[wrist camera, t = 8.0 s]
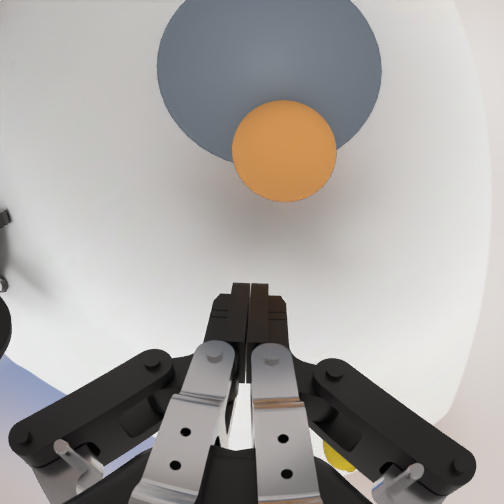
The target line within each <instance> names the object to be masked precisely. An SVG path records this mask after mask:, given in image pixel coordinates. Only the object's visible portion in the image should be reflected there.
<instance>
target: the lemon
mask: <svg viewBox="0 0 504 504" xmlns="http://www.w3.org/2000/svg"><path fill="white" fill-rule="evenodd" d="M323 448H324V453H325V456H326V458H327V460H328V462H329V463H330V464H331V465H332V466H333V467H335V468H337V469H340V470H346V471H348V472H353V471H354V470H355V469H356V468H355V467H354V466H353V465H351V464H350V463H349V462H348V461H347V460H346V459H344V458H343V457H342V456H341V455H340V454H339V453H337V452H336V451H335V450H334V449H333V448H332V447H331V446H330V445H328V444H327V443H326V442H325V441H324V440H323Z"/></svg>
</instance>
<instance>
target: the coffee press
mask: <svg viewBox="0 0 504 504" xmlns="http://www.w3.org/2000/svg"><path fill="white" fill-rule="evenodd" d="M8 223H10V220H9V217H8V215H7V212H6V210H5V211H3V212H2V213H0V228H2V227H4V226H5V225H7V224H8ZM0 282H1V284H2V291H0V293H3V292H6V291H7V289H8V284H7V281H6V280H5V279H2V278H0ZM11 333H12V324H11V316H10V312H9V309H8V307H7V305H6V303H5V302H4V301H3V299H2V298H1V297H0V359H1V357H2V355H3V354H4V352H5V351H6V349H7V347H8V345H9V342H10V339H11Z"/></svg>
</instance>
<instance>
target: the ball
mask: <svg viewBox="0 0 504 504" xmlns="http://www.w3.org/2000/svg"><path fill="white" fill-rule="evenodd" d="M336 154H337V151H336V142H335V138H334V135H333V132H332V130H331V128H330V127H329V125H328V123H327V122H326V121H325V119H324V118H323V117H322V116H321V115H320V114H319V113H318V112H316V111H315V110H313V109H312V108H310V107H309V106H307V105H305V104H302V103H299V102H295V101H288V100H278V101H272V102H268V103H265V104H262V105H260V106H258V107H257V108H255V109H253V110H252V111H251V112H250V113H248V114H247V115H246V116H245V117H244V119H243V120H242V121H241V123H240V124H239V126H238V128H237V130H236V132H235V135H234V138H233V144H232V157H233V162H234V165H235V168H236V171H237V173H238V175H239V176H240V178H241V180H242V181H243V182H244V183H245V184H246V185H247V186H248V187H249V188H250V189H251V190H252V191H253V192H255V193H256V194H258V195H260V196H262V197H264V198H266V199H269V200H272V201H278V202H293V201H298V200H301V199H304V198H307V197H309V196H311V195H313V194H314V193H315V192H317V191H318V190H319V189H320V188H322V187H323V185H324V184H325V183H326V182H327V180H328V179H329V177H330V176H331V174H332V171H333V169H334V166H335V162H336Z"/></svg>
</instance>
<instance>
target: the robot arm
mask: <svg viewBox="0 0 504 504" xmlns="http://www.w3.org/2000/svg"><path fill="white" fill-rule="evenodd" d="M245 372H246V383H251V392H250V393H251V394H250V406H251V435H252V448H251V449H245V450H239V451H233V450H229V449H228V441H229V435H230V430H231V425H232V420H233V415H234V410H235V405H236V399H237V394H238V386H239V383H245ZM309 427H310V428H311V429H312V430H313V431H314V432H315V433H316V434H317V435H318V436H320V437H321V438H322V439H323V440H324V441H325V442H326V443H327V444H328V445H330V446H331V447H332V448H333V449H334V450H335V451H336V452H337V453H339V454H340V455H341V456H342V457H343V458H344V459H346V460H347V461H348V462H349V463H350V464H351V465H353V466H354V467H355V468H356V469H357V470H359V471H360V472H361V473H363V475H365V476H366V477H367V478H368V479H370V480H371V481H372V482H373V483H374V484H373V487H372V497H373V499H374V501H375V502H376V503H377V504H442V502H443V501H444V499H445V498H446V497H447V496H448V495H449V494H451V493H452V492H454V491H455V490H457V489H458V488H460V487H462V486H463V485H465V484H466V483H468V482H469V481H470V480H471V479H472V477H473V476H474V474H475V471H476V461H475V458H474V456H473V454H472V453H471V452H470V451H468V450H467V449H466V448H464V447H463V446H461V445H460V444H458V443H457V442H455V441H454V440H452V439H451V438H450V437H448V436H447V435H445V434H444V433H442V432H441V431H440V430H438V429H437V428H435V427H434V426H432V425H431V424H430V423H428V422H427V421H425V420H424V419H423V418H421V417H420V416H418V415H417V414H416V413H414V412H413V411H412V410H410V409H409V408H407V407H406V406H405V405H403V404H402V403H400V402H399V401H398V400H396V399H395V398H394V397H392V396H391V395H390V394H388V393H387V392H385V391H384V390H383V389H381V388H380V387H379V386H377V385H376V384H375V383H373V382H372V381H371V380H369V379H368V378H367V377H365V376H364V375H363V374H361V373H360V372H359V371H357V370H356V369H355V368H353V367H352V366H351V365H349V364H348V363H347V362H345V361H343V360H340V359H336V358H329V359H325V360H322V361H320V362H319V363H318V364H317V365H314V364H310V363H306V362H303V361H301V360H299V359H297V358H296V357H295V356H294V355H293V354H292V353H291V351H290V349H289V339H288V325H287V314H286V303H285V302H284V300H283V299H282V297H281V296H268V284H259V283H252V284H251V295H250V283H233V286H232V291H231V294H220V295H219V296H218V297H217V298H216V299H215V300H214V302H213V306H212V311H211V314H210V318H209V322H208V326H207V330H206V334H205V338H204V342H203V344H201V345H200V346H199V347H198V348H197V349H196V351H195V353H193V354H191V355H189V356H185V357H178V358H171V356H170V355H169V354H168V353H167V352H165V351H163V350H159V349H150V350H146V351H144V352H142V353H140V354H138V355H137V356H135V357H133V358H132V359H130V360H128V361H126V362H125V363H123V364H121V365H120V366H118V367H116V368H114V369H113V370H111V371H109V372H108V373H106V374H104V375H102V376H101V377H99V378H97V379H95V380H94V381H92V382H90V383H88V384H87V385H85V386H83V387H81V388H80V389H78V390H76V391H74V392H72V393H71V394H69V395H67V396H65V397H64V398H62V399H60V400H58V401H56V402H55V403H53V404H51V405H49V406H47V407H45V408H44V409H42V410H40V411H38V412H36V413H34V414H33V415H31V416H29V417H27V418H25V419H23V420H21V421H20V422H18V423H16V424H15V425H14V426H13V427H12V428H11V430H10V433H9V437H8V439H9V445H10V447H11V449H12V450H13V451H14V452H15V453H16V454H17V455H19V456H20V457H21V458H22V459H23V460H24V461H25V462H26V463H27V464H28V465H29V466H30V467H31V468H32V470H33V472H34V474H35V476H36V478H37V480H38V482H39V483H40V486H41V487H42V489H43V491H44V493H45V494H46V496H47V498H48V500H49V502H50V503H51V504H373V503H372V502H370V501H369V500H368V499H367V498H366V497H365V496H364V495H362V494H361V493H360V492H359V491H358V490H357V489H356V488H355V487H353V486H352V485H351V484H350V483H349V482H348V481H347V480H346V479H345V478H344V477H343V476H342V475H341V474H339V473H338V472H337V471H336V470H335V469H334V468H333V467H332V466H331V465H329V464H328V463H326V462H325V461H323V460H321V459H319V458H317V457H315V456H313V450H312V444H311V438H310V432H309ZM158 431H159V432H158ZM156 432H158V434H157V437H156V440H155V443H154V445H153V447H152V448H150V449H147V450H145V451H143V452H142V453H140V454H138V455H137V456H135V457H134V458H133V459H131V460H130V461H128V462H127V463H125V464H124V465H122V466H121V467H120V468H118V469H117V470H115V471H114V472H112V473H111V474H109V475H108V476H106V477H105V478H104V479H102V477H103V474H104V468H103V467H104V466H105V465H107V464H109V463H110V462H112V461H113V460H115V459H117V458H118V457H120V456H121V455H123V454H125V453H126V452H128V451H129V450H131V449H132V448H134V447H135V446H137V445H138V444H140V443H141V442H143V441H144V440H146V439H147V438H149V437H150V436H152V435H153V434H155V433H156Z"/></svg>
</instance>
